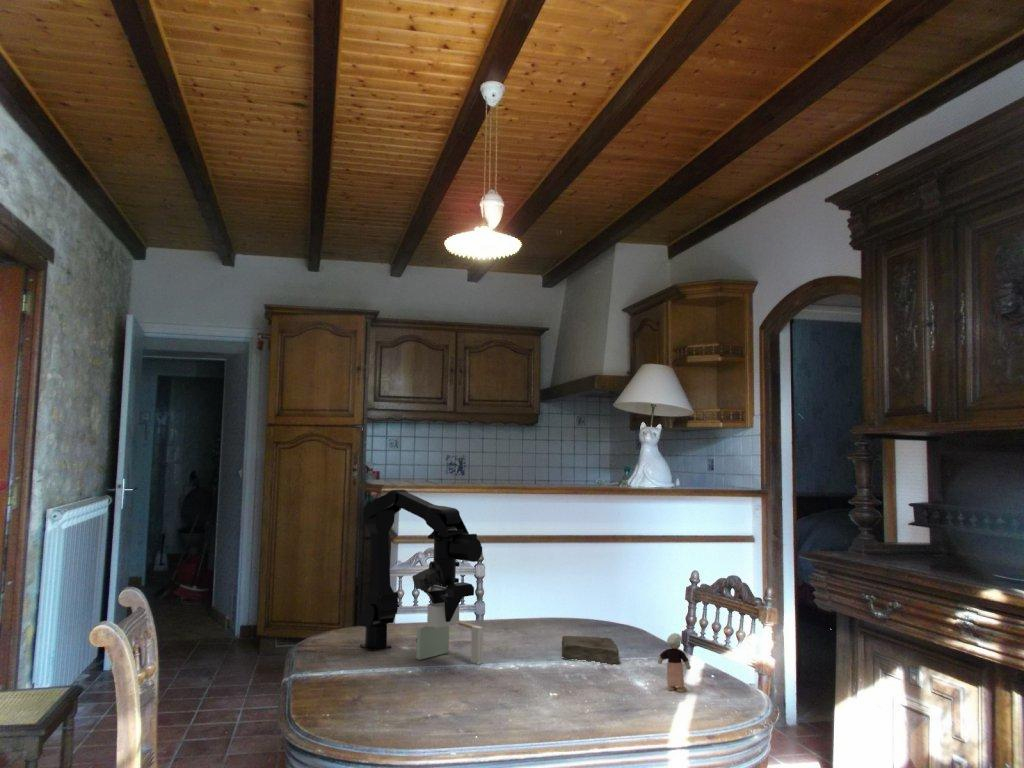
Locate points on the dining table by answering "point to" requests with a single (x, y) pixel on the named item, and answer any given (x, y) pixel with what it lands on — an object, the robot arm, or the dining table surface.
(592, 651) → the brown stone slab
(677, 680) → the grandmother figurine
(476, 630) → the wall frame
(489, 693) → the dining table surface
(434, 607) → the block
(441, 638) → the door
